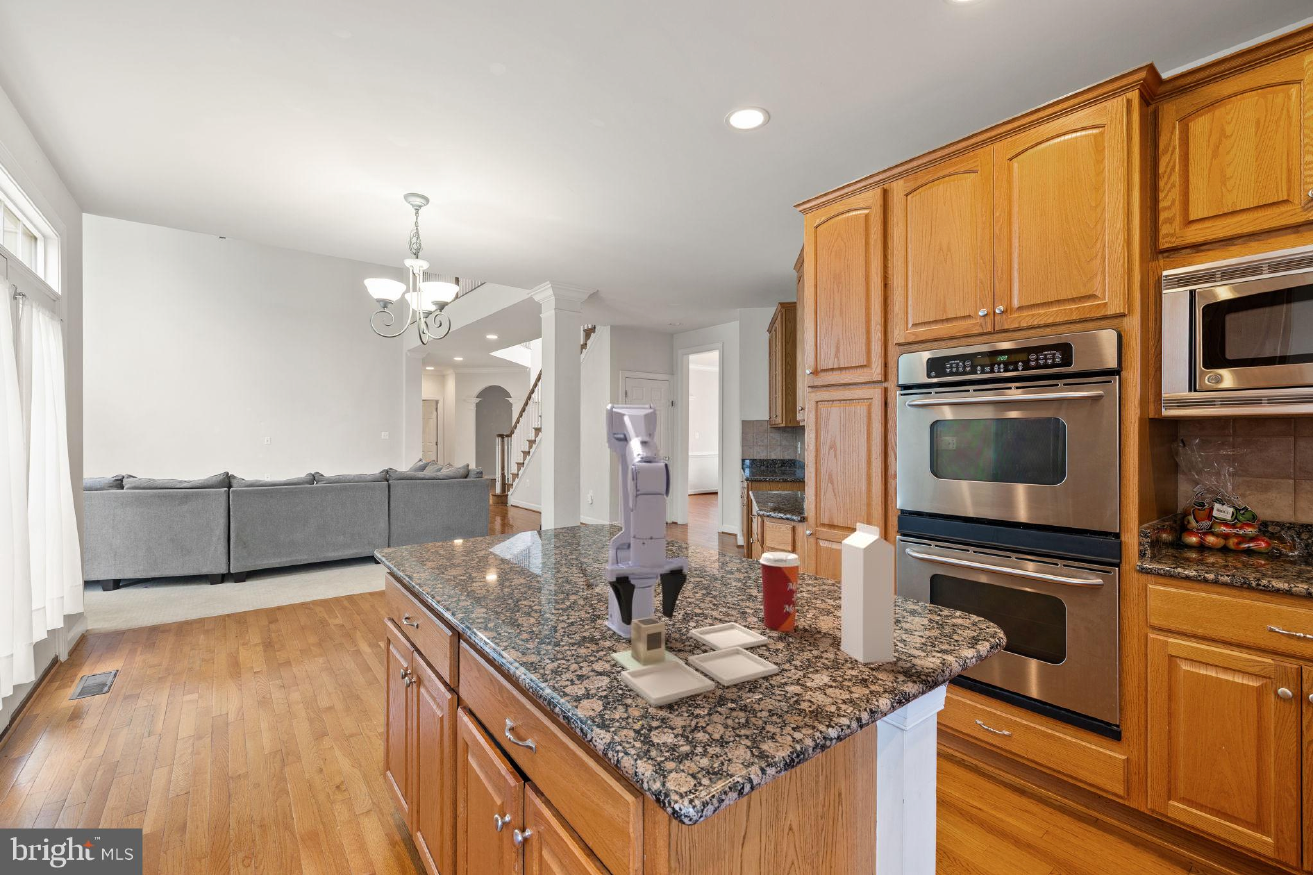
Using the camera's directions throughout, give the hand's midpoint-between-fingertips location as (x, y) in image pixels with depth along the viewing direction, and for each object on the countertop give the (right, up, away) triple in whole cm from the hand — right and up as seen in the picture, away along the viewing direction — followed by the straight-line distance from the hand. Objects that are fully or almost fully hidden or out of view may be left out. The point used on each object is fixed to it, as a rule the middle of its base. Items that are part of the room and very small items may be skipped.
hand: (647, 619), depth 92 cm
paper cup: (+25, -7, +16) cm, 31 cm away
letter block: (0, -6, 0) cm, 6 cm away
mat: (0, -7, 0) cm, 7 cm away
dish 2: (+14, -7, +9) cm, 18 cm away
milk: (+37, -7, +2) cm, 37 cm away
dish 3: (+13, -7, -3) cm, 15 cm away
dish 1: (+3, -7, -9) cm, 12 cm away
